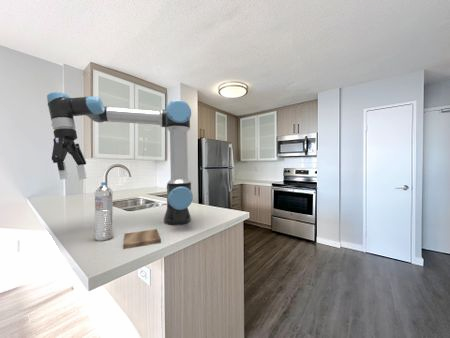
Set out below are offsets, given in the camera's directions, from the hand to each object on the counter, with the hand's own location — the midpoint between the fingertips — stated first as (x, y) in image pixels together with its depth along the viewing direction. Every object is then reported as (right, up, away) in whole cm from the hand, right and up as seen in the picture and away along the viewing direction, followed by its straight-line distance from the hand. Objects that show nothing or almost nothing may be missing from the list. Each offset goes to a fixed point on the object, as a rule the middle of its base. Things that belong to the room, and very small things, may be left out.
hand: (74, 179), depth 81 cm
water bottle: (+10, -27, +4) cm, 29 cm away
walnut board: (+27, -27, +3) cm, 38 cm away
